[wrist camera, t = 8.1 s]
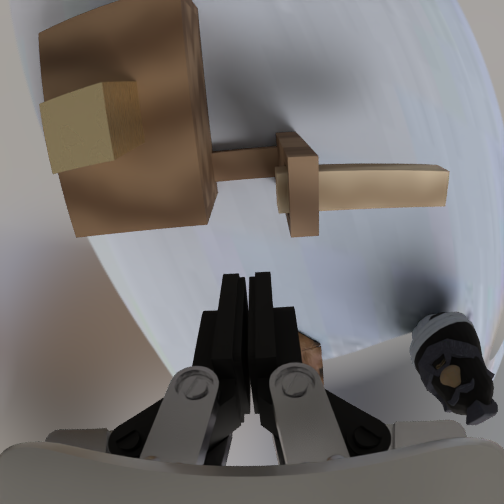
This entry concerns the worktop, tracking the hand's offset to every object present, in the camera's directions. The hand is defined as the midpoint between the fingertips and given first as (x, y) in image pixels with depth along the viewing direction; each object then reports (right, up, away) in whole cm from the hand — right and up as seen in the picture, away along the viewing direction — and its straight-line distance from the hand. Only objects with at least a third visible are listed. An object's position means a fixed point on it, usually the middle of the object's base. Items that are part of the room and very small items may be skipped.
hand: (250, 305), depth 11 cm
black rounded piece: (+28, -9, +31) cm, 43 cm away
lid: (-11, +13, +11) cm, 21 cm away
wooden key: (+9, +8, +12) cm, 17 cm away
